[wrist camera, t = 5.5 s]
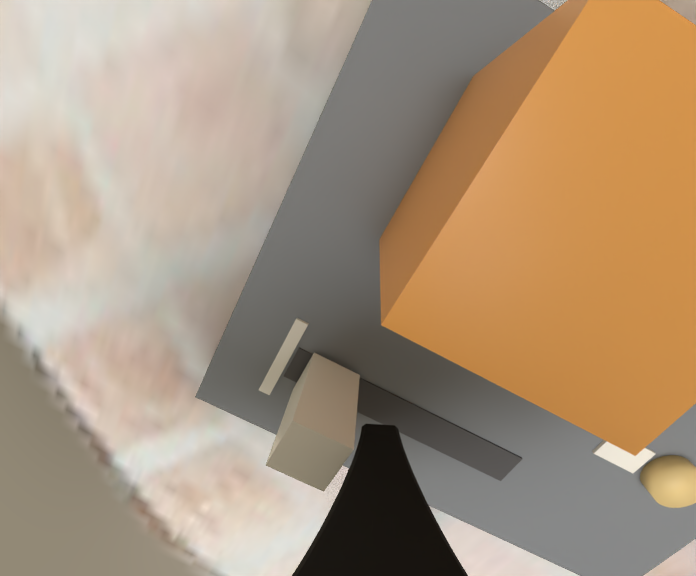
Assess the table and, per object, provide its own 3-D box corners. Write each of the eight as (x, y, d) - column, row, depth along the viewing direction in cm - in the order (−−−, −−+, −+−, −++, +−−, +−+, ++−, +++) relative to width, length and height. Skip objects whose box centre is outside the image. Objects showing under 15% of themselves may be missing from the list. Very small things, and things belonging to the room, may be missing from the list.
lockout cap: (626, 169, 9) (937, 191, 4) (513, 312, 10) (635, 456, 5) (473, 76, 8) (610, -34, 3) (379, 239, 10) (381, 324, 5)
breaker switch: (359, 374, 11) (353, 449, 8) (336, 410, 12) (323, 491, 9) (314, 352, 11) (292, 420, 8) (292, 389, 12) (265, 465, 9)
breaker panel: (931, 291, 11) (1056, 322, 9) (596, 553, 15) (628, 611, 13) (404, -47, 9) (412, -105, 7) (214, 371, 14) (186, 408, 12)
